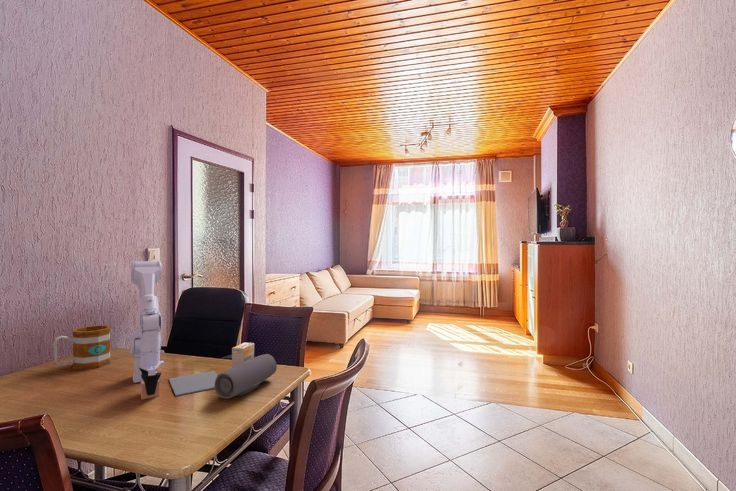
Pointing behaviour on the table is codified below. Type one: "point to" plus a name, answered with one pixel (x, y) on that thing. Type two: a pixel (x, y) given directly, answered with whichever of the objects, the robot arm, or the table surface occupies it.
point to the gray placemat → (193, 383)
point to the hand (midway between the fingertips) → (149, 390)
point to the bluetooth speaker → (245, 376)
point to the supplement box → (242, 353)
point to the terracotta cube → (143, 391)
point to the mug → (88, 347)
